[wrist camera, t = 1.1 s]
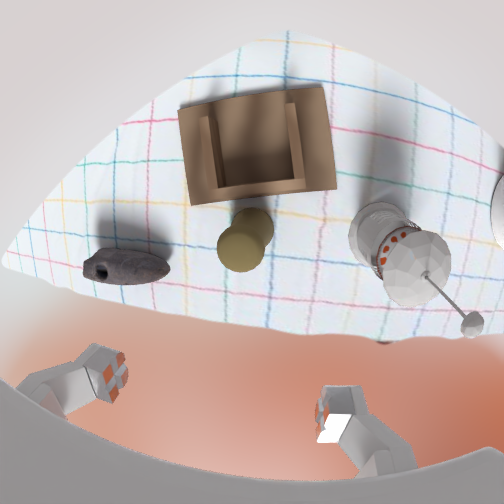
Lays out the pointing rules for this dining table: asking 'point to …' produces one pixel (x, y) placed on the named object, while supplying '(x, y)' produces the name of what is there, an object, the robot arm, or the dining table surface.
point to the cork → (245, 240)
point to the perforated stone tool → (124, 267)
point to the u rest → (257, 146)
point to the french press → (405, 259)
